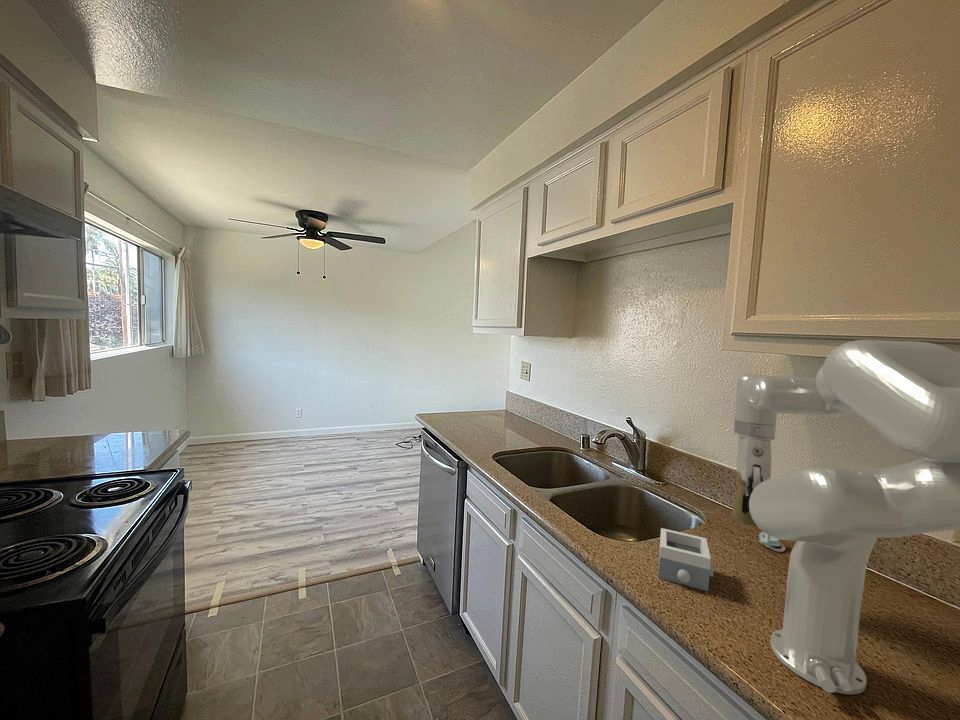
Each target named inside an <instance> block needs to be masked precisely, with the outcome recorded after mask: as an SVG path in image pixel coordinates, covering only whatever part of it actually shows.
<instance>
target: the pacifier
mask: <svg viewBox="0 0 960 720" xmlns="http://www.w3.org/2000/svg"><path fill="white" fill-rule="evenodd" d="M758 537H759V539H758V542H760V543H761V544H762V545H763V546H764V547H766V548H767V549H770V550H772V551H773V552H778V553H781V552H784V551H786V546H785V545H784V544H783V543H781V541H780V539H777V538H774V537H771V536H769V535H768V534H766V533H765V532H763V531H761V532H759V534H758ZM777 547H779V548H777Z"/></svg>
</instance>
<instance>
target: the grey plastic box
mask: <svg viewBox="0 0 960 720" xmlns="http://www.w3.org/2000/svg"><path fill="white" fill-rule="evenodd" d="M659 537H660V538H659V550H658V551H659V552H658V579H661V580H664V581H669V582H672V583H676V584H680V585H683V586H687V587H689V588H693V589H698V590H701V591H705V592H709V587H710V586H709V584H710V577H714V563H713V564H712V563H711V561H712V558H711V554H710V550H709V546H708V545H709V544H708V540H707V537H701V536H698V535H693V534H691V533H690V534H688V533H685V532H680V531H676V530H671V529H668V528H667V529H666V528H662V527H660V536H659Z"/></svg>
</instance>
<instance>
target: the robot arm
mask: <svg viewBox="0 0 960 720" xmlns="http://www.w3.org/2000/svg"><path fill="white" fill-rule="evenodd" d="M736 383H737V384H736V385H737V386H736V399H735V401H736V402H735V413H734V426H733V434H734V435H735V436H738V441H737V442H738V443H737V453H736V455H737V456H736V471H737V473H738V472H740V474H741V478H742V480H743V481H745V495H744V494H743V500H742V512H743V513H746V514H747V512H750V514H751V517H752V519H753V521H754V522H755V524H756V525H755V526H757V527H758V528H759V529H760V530H761V532H765V533H766V534H768V535H769V536H771V537H774V538H777V539H779V540H781V541H782V540H783V541H793V542H794V545H793V547H792V549H791V551H790V555H789V563H788V573H787V580H786V591H785V592H786V593H785V601H784V602H785V604H784V612H783V613H784V614H783V620H782V621H783V622H782V623H783V624H782V629H777V630H774V631H773V632H772V633H771V635H770V647H771V650H772V652H773V653H774V655H775V656H776V657H777V659H779V661H780V662H781V663H782V664H783V665H784V666H786V667H787V669H789V670H791V671H792V672H793V673H794V674H796V675H797V676H799V677H801V678H802V679H803V680H805V681H806V682H809V683H811V684H813V685H815V686H816V687H819V688H821V689H822V690H823V691H825V692H826V693H836V694H837V693H838V694H841V695H853V696H854V695H859V694H861V693H863V692H864V691H865V690H866V688H867V676H866V674H865V671H864V670H863V669H862V667H861V666H860V665H859V664H858V662H856V654H857V645H858V639H859V638H858V636H859V629H860V628H859V627H860V619H861V610H862V600H863V594H864V593H863V592H864V586H865V578H866V571H867V566H868V561H869V558H870V555H871V552H872V550H873V548H874V546H875V543H876V541H877V538H903V537H908V536H914V535H921V534H928V533H929V534H931V533H937V532H944V531H945V532H947V531H956V530H960V355H959V354H958V353H957V352H955V351H953V350H951V349H950V348H948V347H945V346H943V345H940V344H936V343H931V342H925V341H910V340H909V341H907V340H905V341H904V340H887V339H885V340H882V339H881V340H880V339H857V340H853V341H852V340H851V341H848V342H845V343H844V342H843V344H842V343H841V345H838V346H837V347H836V348H834V349H832V350H831V352H829V354H827V357H826V358H825V359H824V362H823V365H822V366H821V367H820V368H819V369H818V371H817V373H816V375H815V377H803V376H802V377H800V376H798V377H797V376H776V375H775V376H774V375H773V376H772V375H768V374H767V375H764V374H749V373H747V374H742V375H740V376H739V377H738V379H737V382H736ZM849 413H850V414H851V413H854V414H856V415H857V417H860V418H861V419H862V420H863V421H864V422H865V423H867V424H868V425H869V426H870V427H872V428H873V430H876V431H877V433H878V434H880V435H881V436H882V437H883V438H884V439H886V440H887V441H889V442H890V443H891V444H893V445H894V446H895V447H897V448H899V449H900V450H902V451H903V452H906V453H908V454H910V455H912V456H915V457H917V458H921V459H915V460H914V461H911V462H908V463H905V464H904V463H903V464H899V465H895V466H891V467H883V468H869V467H857V466H856V467H851V466H834V465H811V466H805V467H800V468H796V469H794V470H792V471H791V470H790V471H788V472H786V473H783V474H779V475H777V476H774V477H772V445H771V444H772V443H771V442H772V441H773V440H775V439H776V429H777V428H776V427H777V415H778V414H781V415H782V414H783V415H785V414H786V415H787V414H790V415H804V416H829V415H830V416H831V415H842V414H849ZM761 476H762V479H763V480H762V479H761ZM748 477H749V478H748ZM748 479H752V481H753V482H748V481H749V480H748ZM761 480H762V481H763V482H761ZM749 485H752V487H751V486H750V488H749Z"/></svg>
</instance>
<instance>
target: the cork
mask: <svg viewBox="0 0 960 720" xmlns="http://www.w3.org/2000/svg"><path fill="white" fill-rule="evenodd" d="M748 478H749V477H748ZM761 479H762V476H761ZM748 480H749V481H748V482H753V481H752V479H748ZM762 480H763V479H762ZM762 480H761V482H763V481H762ZM736 481H737V483H738V487H737V492H736V495H735V499H734V502H733V503H734V504H733V508H732V513H731V517H732V518H733V519H734V520H736V521H737V522H740V523H743V524H747V525H751V526H757V525H756V524H755V522H754V521H753V519H752V517H751V514H750V512H747V514H746V513H743V512H742V500H743V494H744V495H745V481H743V480H742V478H741V474H740V472H738V471H737V474H736ZM750 486H751V487H752V485H749V488H750Z"/></svg>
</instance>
